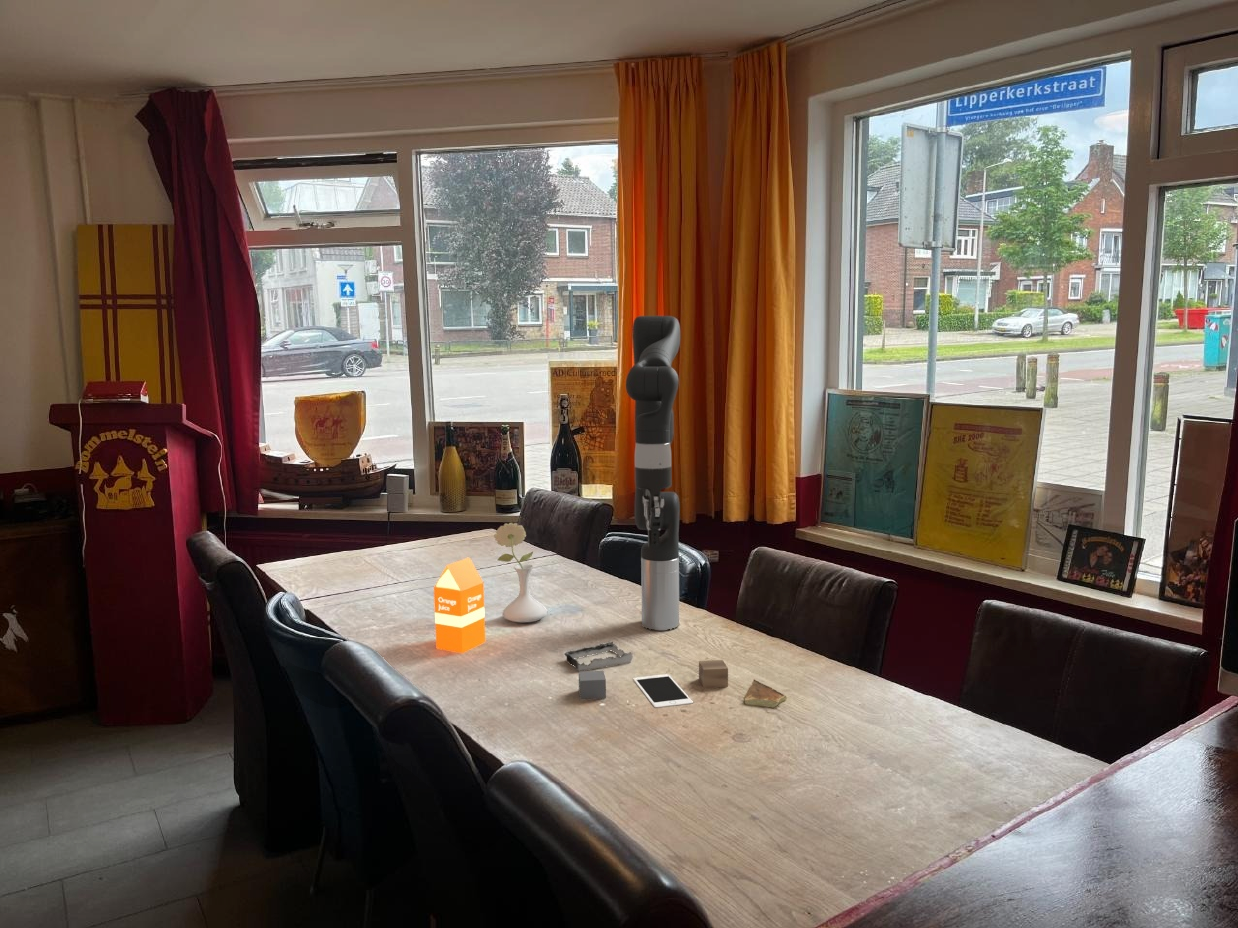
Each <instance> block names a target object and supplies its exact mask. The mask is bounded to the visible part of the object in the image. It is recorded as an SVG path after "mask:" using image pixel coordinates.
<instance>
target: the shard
mask: <svg viewBox="0 0 1238 928" xmlns="http://www.w3.org/2000/svg"><path fill="white" fill-rule="evenodd" d="M751 682H752V683H751V685H750V686H749V687H748V690H747V691H746V693H745V698H744V704H745V705H752V706H760V707H768V708H775V707H777V706H778V705H779V704H780V703H782V702H785V701H787V698H788V697H787V696H786V695H785V694H784V693H781V692H779V691H777V690H775V689H774V688H772V687H770V686H768V685H767V684H764V683H762V682H760V681H758V680H756V679H753V681H751Z"/></svg>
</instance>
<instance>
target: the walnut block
mask: <svg viewBox="0 0 1238 928" xmlns="http://www.w3.org/2000/svg"><path fill="white" fill-rule="evenodd" d="M698 680H699V682H700V684H701V685H702V688H703V689H709V688H711V689H712V688H727V687H728V688H729V668H728V666H727V665H726V662H724V660H723V659H711V660H710V659H709V660H699V661H698Z"/></svg>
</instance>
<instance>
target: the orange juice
mask: <svg viewBox="0 0 1238 928" xmlns="http://www.w3.org/2000/svg"><path fill="white" fill-rule="evenodd" d="M438 578H439V579H438V580H437V582H436V584H435V586H433V596H434V597H433V598H434V599H433V600H434V602H433V603H434V623H435V645H436V646H435V648H436V649H437V650H442V649H443V650H442V651H449V652H454V653H458V654H464V653H466V652H468V651H470V650H472V649H474V648H476V647H479V646H480V645H483V644H484V643H486V629H485V628H486V623H485V617H486V616H485V615H486V614H485V595H484V594H485V593H484V590H485V589H484V581H483V579H482V577H481V575H480V574H479V572H478V570H477V568H476V566H475V564H474V563H473V561H472V559H471V558H470V557H465V558H463V559H461V560H458V561H455V562H452V563H449V564H446V565H445V568H444V569H443V571H442V572H441V575H440V577H438Z"/></svg>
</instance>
